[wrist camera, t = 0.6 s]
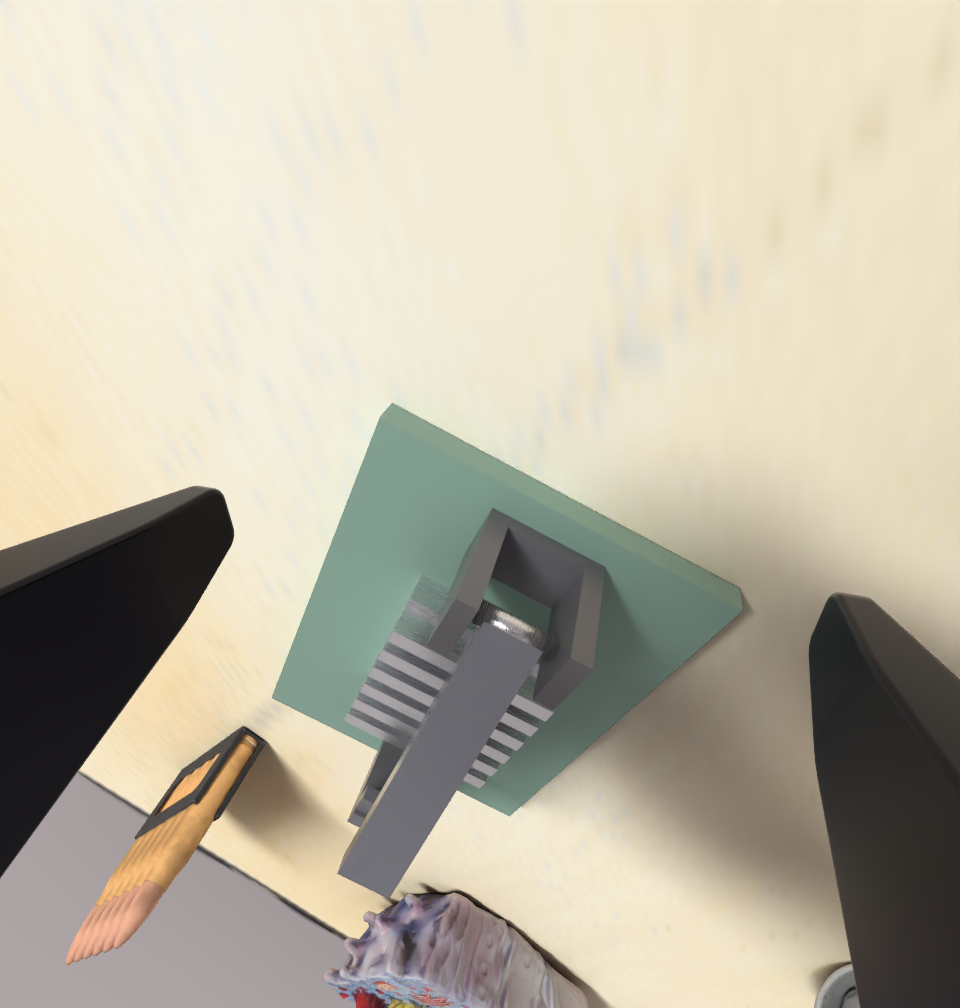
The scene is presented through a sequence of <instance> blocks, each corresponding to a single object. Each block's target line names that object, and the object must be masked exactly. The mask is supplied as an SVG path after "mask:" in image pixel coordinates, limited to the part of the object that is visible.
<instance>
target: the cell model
mask: <svg viewBox="0 0 960 1008" xmlns="http://www.w3.org/2000/svg"><path fill="white" fill-rule="evenodd" d="M364 921H366V922H368V924H369V927H368V929H367V930H366V932H365V933H364V934H363V935H362V937H361V938H360V939H359V940H358V939H356V938H350V937H349V938H348V939H346V940H345V941H344V947H345V949H346V950H347V951H348V952H349V953H350V954H349V956H348V958H347V960H346V963H345V965H343V966H342V967H341V969H340V970H336V969H331V968H329V969H328V970H327V971H326V972H325V975H324V980H325V981H326V982H327V983H328V984H331V985H333V986H335V989H336V992H337V993H339V994H340V995H341V996H342V998H343V999H344V998H347V999H348V1000H350V1001H352V1002H354V1003H356V1008H588V1000H587V997H586V995H585V994H584V992H583V991H582V990H581V989H580V988H578V987H577V986H575V985H574V984H573V983H571V982H570V981H569V980H567V979H566V978H564V977H563V976H562V975H561V974H559V973H558V972H557V971H555V970H554V969H553V968H552V967H551V966H550V965H549V964H548V963H547V962H546V961H545V960H544V959H543V958H542V956H541V954H540V953H539V952H538V951H536V950H534V949H533V947H532V946H531V945H530V944H529V943H528V942H527V941H526V940H525V939H524V938H523V937H522V936H521V935H520V934H519V933H518V932H517V931H516V930H515V929H514V928H512V927H510V926H507V924H506V922H505V921H504V920H503V919H501V918H498V917H495V916H494V915H492V914H491V913H489V912H487V911H485V910H483V909H481V908H478V907H476V906H475V905H474V904H473V903H472V902H471V901H470V900H468V899H467V898H466V897H464V896H462V895H460V894H457V893H455V892H454V893H451V894H448V895H438V894H431V893H428V894H423V895H412V894H407V895H406V896H405V897H404V899H402V900H401V901H400V902H399V903H398V904H397V905H395V906H391V907H388V908H387V909H385V910H384V911H382V912H381V913H379V914H375V913H373V912H370V911H368V912H367V913H366V914H364Z"/></svg>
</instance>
